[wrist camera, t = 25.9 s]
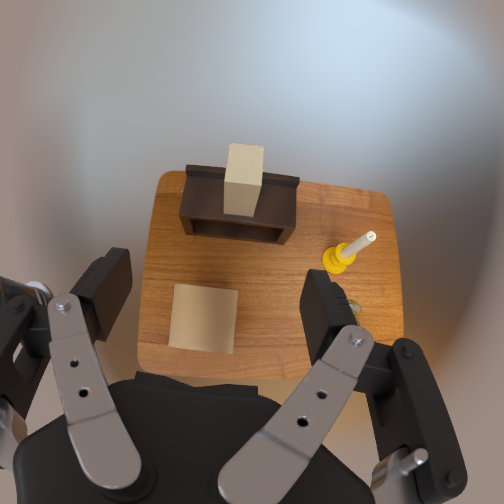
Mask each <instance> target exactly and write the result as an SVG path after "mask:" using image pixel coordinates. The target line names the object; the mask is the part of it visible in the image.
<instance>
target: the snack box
mask: <svg viewBox="0 0 504 504" xmlns="http://www.w3.org/2000/svg"><path fill="white" fill-rule="evenodd" d="M263 158H264V147H262V146H254V145H246V144H237V143H230V147H229V153H228V160H227V167H226V173H225V180H224V214H231V215H240V216H249V217H253V215H254V211H255V208H256V204H257V200H258V197H259V193H260V189H261V186H262V173H263Z"/></svg>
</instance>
